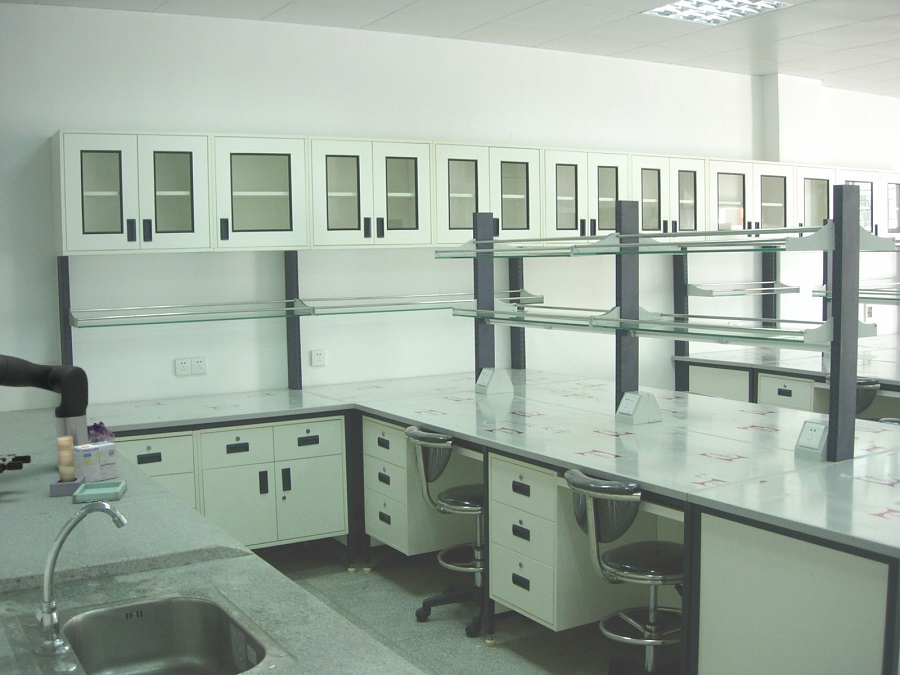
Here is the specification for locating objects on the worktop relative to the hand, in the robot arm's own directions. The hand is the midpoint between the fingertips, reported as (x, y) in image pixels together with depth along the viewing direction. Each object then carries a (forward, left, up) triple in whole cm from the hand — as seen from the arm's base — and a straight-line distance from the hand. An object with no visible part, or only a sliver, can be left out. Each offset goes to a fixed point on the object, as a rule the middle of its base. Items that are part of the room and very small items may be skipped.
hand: (26, 462), depth 256 cm
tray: (+7, +21, -10) cm, 24 cm away
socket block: (0, +11, -10) cm, 14 cm away
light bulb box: (-15, +16, -10) cm, 24 cm away
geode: (-65, +7, -10) cm, 66 cm away
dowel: (0, +11, -10) cm, 14 cm away
